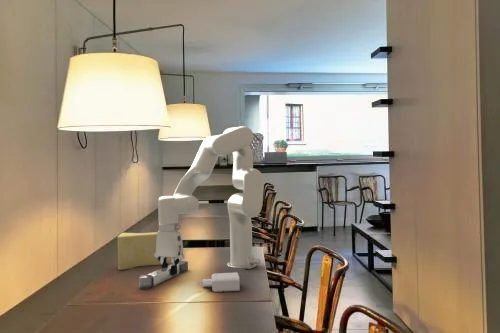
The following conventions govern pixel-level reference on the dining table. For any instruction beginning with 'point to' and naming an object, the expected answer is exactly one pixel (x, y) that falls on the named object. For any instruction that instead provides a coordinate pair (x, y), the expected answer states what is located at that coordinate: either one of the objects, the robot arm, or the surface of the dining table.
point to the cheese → (137, 250)
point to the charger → (222, 282)
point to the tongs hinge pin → (145, 281)
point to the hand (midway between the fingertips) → (169, 273)
